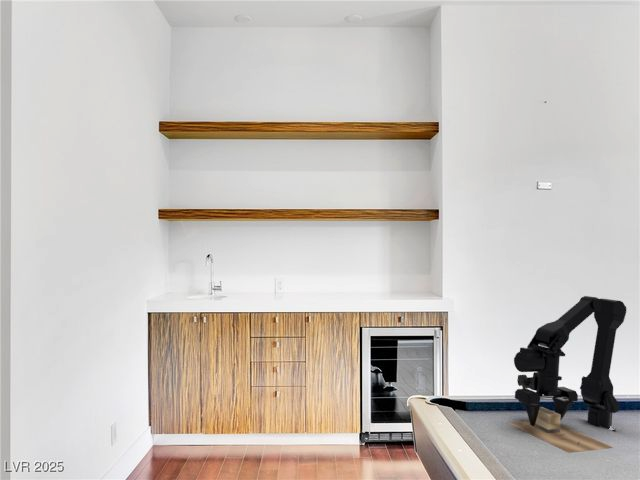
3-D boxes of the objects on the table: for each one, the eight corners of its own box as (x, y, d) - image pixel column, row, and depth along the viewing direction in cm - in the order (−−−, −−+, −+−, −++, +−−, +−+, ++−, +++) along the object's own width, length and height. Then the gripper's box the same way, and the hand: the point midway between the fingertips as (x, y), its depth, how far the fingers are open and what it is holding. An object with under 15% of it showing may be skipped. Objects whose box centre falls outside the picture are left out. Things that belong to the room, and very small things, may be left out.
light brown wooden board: (549, 423, 156) (549, 419, 156) (613, 452, 135) (613, 447, 135) (507, 426, 150) (508, 422, 150) (568, 457, 130) (568, 452, 130)
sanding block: (541, 423, 151) (542, 406, 152) (559, 432, 145) (560, 414, 145) (529, 424, 150) (530, 407, 150) (547, 433, 143) (549, 415, 143)
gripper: (550, 363, 159) (547, 413, 158) (503, 365, 152) (500, 417, 152) (580, 372, 148) (577, 426, 148) (530, 374, 141) (527, 430, 141)
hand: (544, 424), depth 147 cm, fingers open, 9 cm apart
